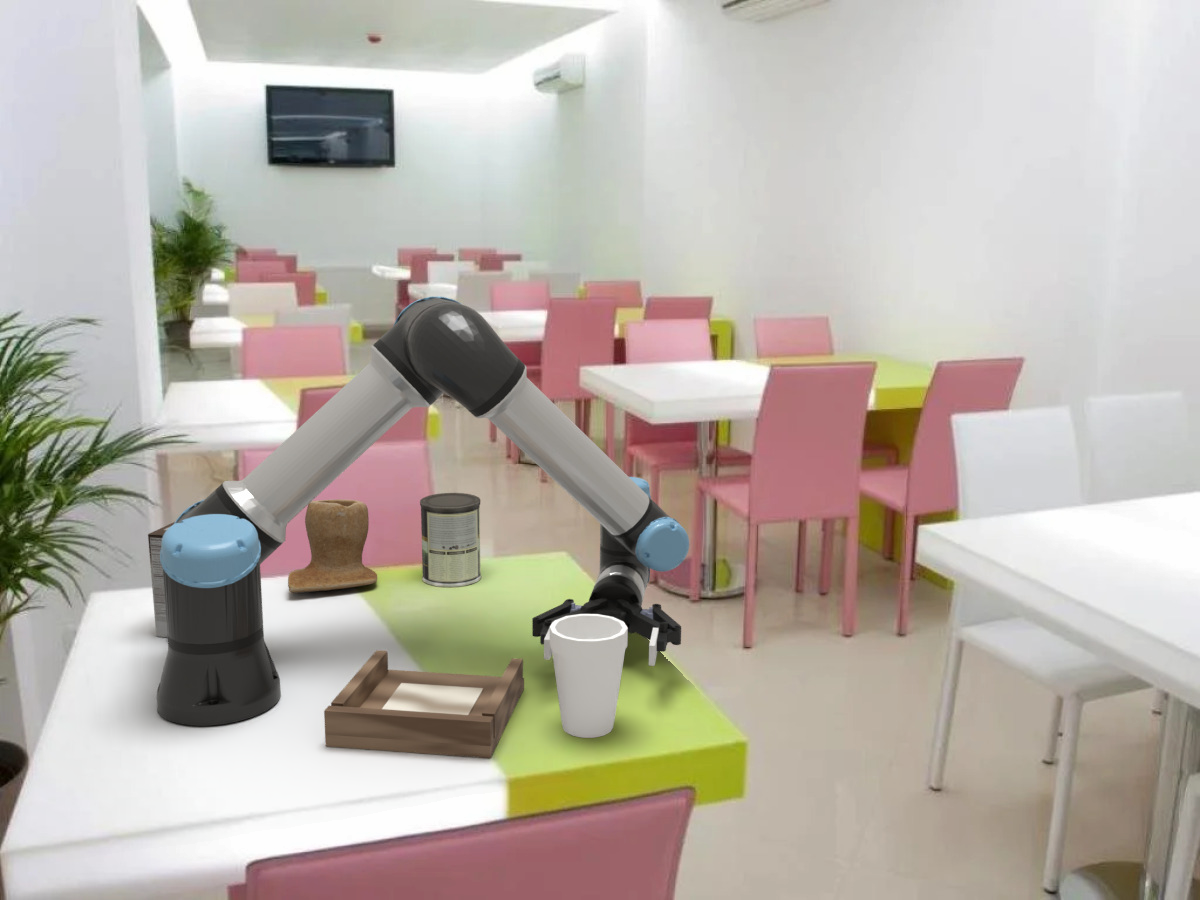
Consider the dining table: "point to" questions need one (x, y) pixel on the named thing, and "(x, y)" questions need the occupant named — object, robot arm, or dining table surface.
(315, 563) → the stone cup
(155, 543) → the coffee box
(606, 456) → the robot arm
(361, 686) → the tray
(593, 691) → the foam cup
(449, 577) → the coffee can
